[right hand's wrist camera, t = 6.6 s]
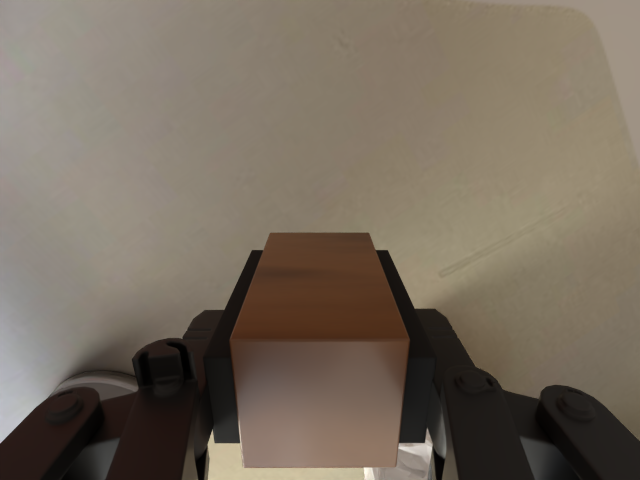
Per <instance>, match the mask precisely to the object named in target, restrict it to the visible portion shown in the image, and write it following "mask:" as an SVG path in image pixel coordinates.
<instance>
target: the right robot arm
mask: <svg viewBox="0 0 640 480" xmlns="http://www.w3.org/2000/svg"><path fill="white" fill-rule="evenodd" d="M262 253H263V250H252V251H251V254H250V256H249V258H248V260H247V262H246V264H245V267H244V269H243V271H242V273H241V275H240V277H239V280H238V282H237V284H236V286H235V288H234V290H233V293H232V295H231V297H230V299H229V301H228V303H227V306H226V308H225V310H204V311H203V312H202V313H200V314H199V315H198V316H196V317H195V318H194V319H193V320H192V322H191V324H190V326H189V327H188V330H187V331H186V332H185V334H184V336H183V339H180V338H167V339H162V340H158V341H155V342H153V343H151V344H148V345H146V346H145V347H143V348H142V349H141V350H139V351H138V352H137V353H136V354H135V356H134V357H133V358H132V362H133V366H134V371H135V375H136V377H134V376H131V375H127V374H124V373H119V372H112V371H92V372H86V373H81V374H78V375H75V376H73V377H71V378H69V379H67V380H66V381H64V382H63V383H62V384H61V385H60V386H58V388H57V389H56V390H55V391H54V392H53V393H52V394H51V395H50V396H49V397H48V398H47V399H46V400H45V401H43V402H42V403H41V404H40V405H38V406H37V407H36V408H35V409H34V410H33V411H32V412H31V413H30V414H29V415H28V416H27V417H26V418H25V419H24V420H23V421H22V422H21V423H20V424H19V425H18V426H17V427H16V428H15V429H14V430H13V431H12V432H11V433H10V434H9V435H8V436H7V437H6V438H5V439H4V440H3V441H2V442H1V443H0V480H208V470H209V452H208V446H207V444H208V441H209V438H210V435H211V432H212V429H213V434H214V441H215V443H240V436H239V426H238V417H237V408H236V398H235V389H234V380H233V371H232V361H231V352H230V343H229V340H230V337H231V334H232V332H233V329H234V326H235V324H236V321H237V319H238V316H239V313H240V311H241V308H242V305H243V303H244V300H245V297H246V295H247V292H248V290H249V287H250V284H251V282H252V279H253V276H254V274H255V271H256V268H257V266H258V263H259V261H260V258H261V255H262ZM376 253H377V255H378V258H379V260H380V263H381V266H382V268H383V271H384V273H385V276H386V279H387V281H388V284H389V286H390V289H391V292H392V294H393V297H394V300H395V302H396V305H397V307H398V310H399V313H400V315H401V318H402V320H403V323H404V326H405V328H406V331H407V334H408V336H409V339H410V345H409V354H408V364H407V373H406V382H405V392H404V401H403V410H402V420H401V429H400V438H399V443H425V439H426V432H427V428H428V431H429V434H430V437H431V440H432V443H433V446H432V452H431V459H430V465H429V472H428V479H427V480H640V441H639V440H638V439H637V438H636V437H635V436H634V435H633V434H632V433H631V432H630V431H629V430H628V429H627V428H626V427H625V426H624V425H623V424H622V423H621V422H620V421H619V420H618V419H617V418H616V417H615V416H614V415H613V414H612V413H611V412H610V411H609V410H608V409H607V408H606V407H605V406H604V405H603V404H601V403H600V402H599V401H598V400H596V399H595V398H594V397H592V396H590V395H588V394H586V393H584V392H583V391H581V390H578V389H575V388H571V387H568V386H561V385H552V386H548V387H545V388H544V389H543V390H542V391H541V394H540V397H539V399H537V398H532V397H528V396H524V395H519V394H515V393H512V392H508V391H505V390H503V389H502V388H501V386H500V384H499V383H498V381H497V380H496V379H495V378H494V377H493V376H491V375H490V374H489V373H487V372H485V371H483V370H481V369H479V368H477V367H475V365H474V364H473V362H472V360H471V359H470V357H469V355H468V353H467V352H466V350H465V348H464V347H463V345H462V343H461V342H460V340H459V338H457V335H456V333H455V331H454V330H452V326H451V325H450V323H449V321H448V320H447V318H446V317H445V316H444V315H442V314H441V313H440V312H438V311H437V310H436V309H414V306H413V304H412V302H411V300H410V298H409V296H408V293H407V291H406V289H405V287H404V285H403V282H402V280H401V278H400V276H399V274H398V272H397V269H396V267H395V265H394V263H393V261H392V259H391V256H390V254H389V252H388V250H376Z"/></svg>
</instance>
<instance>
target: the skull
mask: <svg viewBox="0 0 640 480" xmlns="http://www.w3.org/2000/svg"><path fill="white" fill-rule="evenodd" d="M432 446H433V443H432V440H431V437H430V434H429V431H428V428H427V432H426V439H425V443H399V447H398V457H397V465H396V467H395V468H364V473H365V480H427V479H428V472H429V465H430V459H431V452H432Z"/></svg>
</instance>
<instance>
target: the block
mask: <svg viewBox="0 0 640 480" xmlns="http://www.w3.org/2000/svg"><path fill="white" fill-rule="evenodd" d="M229 343H230V352H231V361H232V371H233V380H234V389H235V398H236V408H237V417H238V426H239V436H240V445H241V454H242V464H243V467H244V468H395V467H396V465H397V457H398V447H399V438H400V429H401V420H402V410H403V401H404V392H405V382H406V373H407V364H408V354H409V345H410V339H409V336H408V334H407V331H406V328H405V326H404V323H403V320H402V318H401V315H400V313H399V310H398V307H397V305H396V302H395V300H394V297H393V294H392V292H391V289H390V286H389V284H388V281H387V279H386V276H385V273H384V271H383V268H382V266H381V263H380V260H379V258H378V255H377V253H376V250H375V247H374V245H373V242H372V239H371V237H370V234H369V233H270V234H269V237H268V239H267V242H266V245H265V247H264V250H263V253H262V255H261V258H260V261H259V263H258V266H257V268H256V271H255V274H254V276H253V279H252V282H251V284H250V287H249V290H248V292H247V295H246V297H245V300H244V303H243V305H242V308H241V311H240V313H239V316H238V319H237V321H236V324H235V326H234V329H233V332H232V334H231V337H230V340H229Z"/></svg>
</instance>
